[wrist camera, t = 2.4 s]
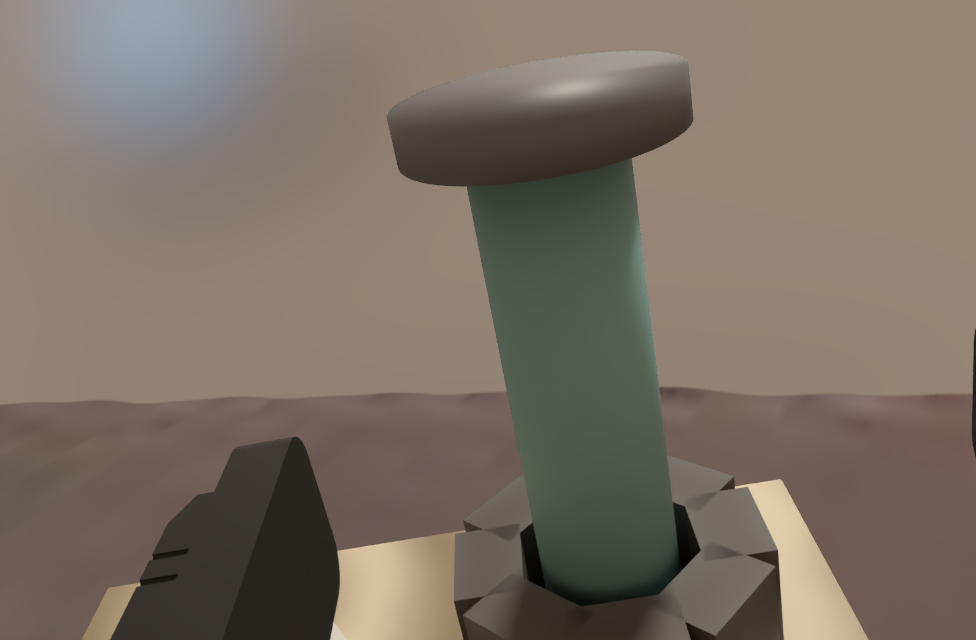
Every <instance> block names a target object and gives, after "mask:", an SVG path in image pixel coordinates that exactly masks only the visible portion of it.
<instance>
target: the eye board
mask: <svg viewBox="0 0 976 640" xmlns="http://www.w3.org/2000/svg"><path fill="white" fill-rule="evenodd" d="M667 458H668V467H669V475H670V484H671V492H672V500H673V509H674V517H675V525H676V534H677V542H678V551H679V559H680V567H681V572H680V573H679V574H678V575H677V576H676V577H675V578H674V579H673V580H672V581H671V582H670V583H669V584H668V585H667V586H666V587H665V588H664V590H663V591H662V592H661V593H660V594H659V595H653V596H646V597H640V598H634V599H627V600H621V601H614V602H608V603H602V604H595V605H589V606H582V607H581V606H579V605H577V604H575V603H573V602H571V601H569V600H566V599H564V598H562V597H560V596H558V595H556V594H554V593H552V592H550V591H548V590H546V587H545V582H544V577H543V572H542V566H541V561H540V556H539V551H538V546H537V541H536V536H535V531H534V526H533V521H532V516H531V511H530V506H529V500H528V495H527V490H526V485H525V480H524V475H523V474H522V475H521V476H519V477H518V478H517V479H516V480H514V481H513V482H512V483H510V484H509V485H508V486H507V487H505V488H504V489H503V490H502V491H500V492H499V493H498V494H496V495H495V496H494V497H493V498H491V499H490V500H489V501H487V502H486V503H485V504H484V505H482V506H481V507H480V508H478V509H477V510H476V511H475V512H473V513H472V514H471V515H469V516H468V517H467V518H466V519H464V520H463V522H464V526H465V530H464V531H458V532H452V533H446V534H439V535H433V536H427V537H421V538H415V539H409V540H402V541H396V542H390V543H384V544H378V545H371V546H365V547H359V548H353V549H347V550H341V551H337V553H338V559H339V568H340V590H339V597H338V602H337V607H336V612H335V617H334V622H333V628H332V633H331V638H330V640H868V638H867V636H866V635H865V633H864V631H863V629H862V627H861V625H860V623H859V622H858V620H857V618H856V616H855V614H854V612H853V611H852V609H851V607H850V605H849V603H848V601H847V600H846V598H845V596H844V594H843V592H842V590H841V589H840V587H839V585H838V583H837V581H836V579H835V577H834V576H833V574H832V572H831V570H830V568H829V566H828V565H827V563H826V561H825V559H824V557H823V555H822V554H821V552H820V550H819V548H818V546H817V544H816V543H815V541H814V539H813V537H812V535H811V533H810V532H809V530H808V528H807V526H806V524H805V522H804V520H803V519H802V517H801V515H800V513H799V511H798V509H797V508H796V506H795V504H794V502H793V500H792V498H791V497H790V495H789V493H788V491H787V489H786V487H785V486H784V484H783V482H782V480H781V479H780V480H773V481H767V482H761V483H755V484H749V485H742V486H736V487H735V484H734V476H731V475H728V474H725V473H722V472H719V471H715V470H712V469H709V468H706V467H703V466H700V465H697V464H694V463H690V462H687V461H684V460H681V459H678V458H675V457H672V456H668V455H667ZM138 586H140V583H137V584H130V585H124V586H118V587H112V588H108V590H107V592H106V594H105V596H104V598H103V600H102V602H101V603H100V605H99V607H98V609H97V611H96V613H95V615H94V617H93V619H92V621H91V623H90V625H89V627H88V628H87V630H86V632H85V634H84V636H83V638H82V640H110V639H111V637H112V635H113V633H114V631H115V629H116V627H117V625H118V623H119V621H120V619H121V617H122V615H123V613H124V611H125V609H126V607H127V605H128V603H129V601H130V599H131V597H132V595H133V593H134V591H135V588H136V587H138Z"/></svg>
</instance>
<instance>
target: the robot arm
mask: <svg viewBox="0 0 976 640" xmlns="http://www.w3.org/2000/svg"><path fill="white" fill-rule="evenodd" d="M973 363H974V365H973V409H972V441H973V447H974V452H975V456H976V330H975V335H974V362H973ZM152 555H153V560H151V561H149V562H148V564H147V566H146V568H145V570H144V572H143V574H142V576H141V578H140V586H138V587H136V588H135V591H134V593H133V595H132V597H131V599H130V601H129V603H128V605H127V607H126V609H125V611H124V613H123V615H122V617H121V619H120V621H119V623H118V625H117V627H116V629H115V631H114V633H113V635H112V637H111V639H110V640H330V638H331V633H332V628H333V622H334V617H335V612H336V607H337V602H338V597H339V590H340V568H339V559H338V553H337V548H336V543H335V540H334V536H333V533H332V530H331V527H330V523H329V520H328V517H327V514H326V511H325V507H324V504H323V501H322V498H321V495H320V492H319V488H318V485H317V482H316V479H315V476H314V472H313V469H312V466H311V463H310V460H309V456H308V454H307V451H306V448H305V446H304V444H303V443H302V441H301V440H300V439H299V438H298V437H290V438H285V439H279V440H273V441H268V442H262V443H256V444H251V445H245V446H239V447H236V448H235V449H234V450H233V452H232V453H231V456H230V458H229V460H228V462H227V465H226V467H225V469H224V471H223V474H222V476H221V478H220V480H219V483H218V485H217V487H216V489H215V492H211V493H205V494H200V495H197V496H196V497H195V498H194V499H193V500H192V501H191V502H190V503H189V504H188V505H187V506H186V507H185V508H184V509H183V510H182V511H180V512H179V513H178V514H177V515H176V516H175V517H174V518H173V519H172V520H171V521H170V522H169V523H168V524H167V526H166V528H165V530H164V532H163V534H162V536H161V538H160V540H159V542H158V544H157V546H156V548H155V550H154V552H153V554H152Z"/></svg>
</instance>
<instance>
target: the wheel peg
mask: <svg viewBox="0 0 976 640" xmlns="http://www.w3.org/2000/svg"><path fill="white" fill-rule="evenodd" d="M387 121H388V125H389V129H390V134H391V138H392V143H393V147H394V152H395V156H396V160H397V165H398V169H399V171H400V172H401V174H403V175H404V176H405V177H407V178H409V179H411V180H414V181H418V182H422V183H426V184H434V185H444V186H467V191H468V195H469V201H470V206H471V211H472V215H473V221H474V226H475V231H476V236H477V241H478V247H479V251H480V257H481V262H482V267H483V272H484V277H485V282H486V287H487V292H488V297H489V302H490V307H491V313H492V318H493V323H494V328H495V333H496V338H497V343H498V348H499V353H500V358H501V363H502V368H503V373H504V379H505V384H506V388H507V394H508V399H509V404H510V409H511V414H512V419H513V424H514V429H515V434H516V440H517V445H518V450H519V455H520V460H521V465H522V470H523V475H524V480H525V485H526V490H527V495H528V500H529V506H530V511H531V516H532V521H533V526H534V531H535V536H536V541H537V546H538V551H539V556H540V561H541V566H542V572H543V577H544V582H545V587H546V590H548V591H550V592H552V593H554V594H556V595H558V596H560V597H562V598H564V599H566V600H569V601H571V602H573V603H575V604H577V605H579V606H581V607H582V606H589V605H595V604H602V603H608V602H614V601H621V600H627V599H634V598H640V597H646V596H653V595H659V594H660V593H661V592H662V591H663V590H664V588H665V587H666V586H667V585H668V584H669V583H670V582H671V581H672V580H673V579H674V578H675V577H676V576H677V575H678V574H679V573H680V572H681V567H680V559H679V551H678V542H677V534H676V525H675V517H674V509H673V500H672V492H671V484H670V475H669V467H668V458H667V450H666V442H665V433H664V425H663V417H662V408H661V400H660V392H659V384H658V375H657V367H656V358H655V350H654V342H653V333H652V325H651V317H650V308H649V299H648V292H647V283H646V275H645V266H644V258H643V250H642V241H641V233H640V224H639V216H638V208H637V199H636V191H635V183H634V174H633V166H632V158H633V157H636V156H638V155H641V154H644V153H646V152H649V151H651V150H654V149H656V148H658V147H660V146H662V145H664V144H666V143H668V142H670V141H672V140H673V139H675V138H677V137H678V136H680V135H681V134H682V133H684V132H685V131H686V130H687V129H688V128H689V127H690V126H691V124H692V122H693V110H692V98H691V88H690V76H689V65H688V61H687V60H686V59H685V58H683V57H681V56H678V55H675V54H671V53H665V52H654V51H616V52H602V53H590V54H582V55H572V56H565V57H558V58H551V59H545V60H539V61H533V62H528V63H523V64H518V65H513V66H508V67H503V68H499V69H494V70H490V71H486V72H482V73H478V74H474V75H471V76H468V77H464V78H460V79H457V80H453V81H450V82H447V83H444V84H441V85H438V86H435V87H432V88H430V89H427V90H425V91H422V92H420V93H418V94H416V95H413V96H411V97H409V98H407V99H405V100H403V101H401V102H400V103H399V104H397V105H395V106H394V107H393V108H392V109H391V110H390V111H389V112H388V114H387Z"/></svg>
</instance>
